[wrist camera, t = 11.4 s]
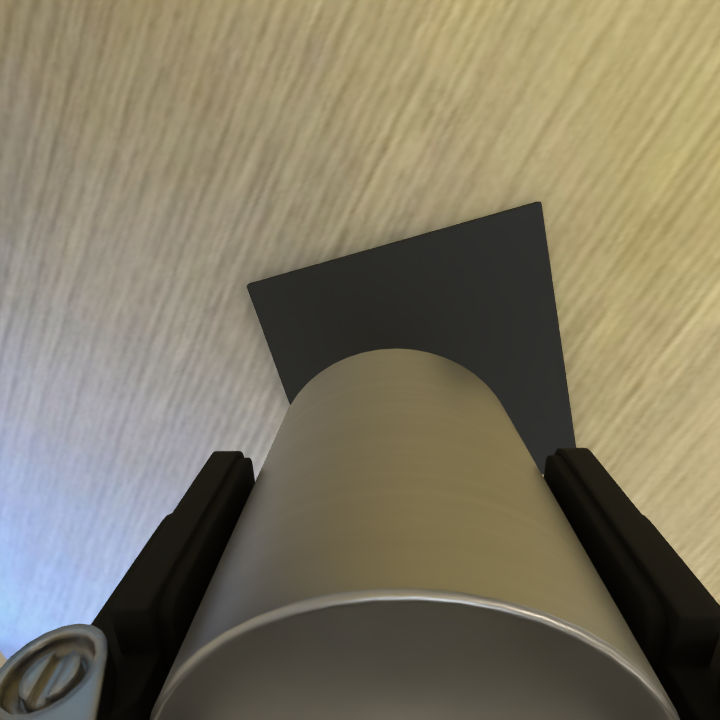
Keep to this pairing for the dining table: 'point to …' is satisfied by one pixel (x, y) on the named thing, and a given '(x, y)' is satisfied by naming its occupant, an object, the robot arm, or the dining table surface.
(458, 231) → the mat
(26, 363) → the dining table surface
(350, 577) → the brushed metal cylinder
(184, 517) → the robot arm
